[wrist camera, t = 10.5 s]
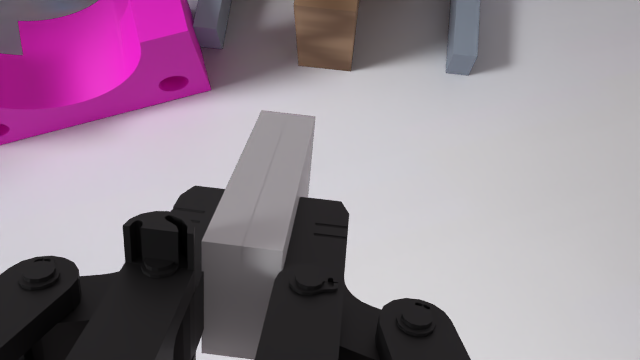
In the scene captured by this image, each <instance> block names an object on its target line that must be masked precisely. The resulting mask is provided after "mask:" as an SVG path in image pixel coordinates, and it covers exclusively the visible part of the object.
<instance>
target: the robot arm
mask: <svg viewBox="0 0 640 360" xmlns="http://www.w3.org/2000/svg"><path fill="white" fill-rule="evenodd" d="M314 126H315V116H307V115H298V114H289V113H280V112H272V111H263V110H262V111H261V113H260V115H259V117H258V119H257V122H256V124H255V126H254V128H253V130H252V132H251V135H250V137H249V139H248V141H247V143H246V146H245V148H244V150H243V152H242V154H241V156H240V159H239V161H238V163H237V165H236V167H235V169H234V172H233V174H232V176H231V178H230V180H229V182H228V185H227V187H226V189H218V188H210V187H201V186H194V187H192V188H191V189H189V190H188V191H186V192H185V193H183V194H181V195H180V197H179V198H178V200H177V202H176V203H175V205H174V207H173V210H171V212H169V211H154V212H148V213H143V214H140V215H138V216H135V217H133V218H131V219H129V220H128V221H127V222H126V223H125V224H124V225H123V236H124V249H125V264H124V265H123V267H122V269H121V270H120V271H119V272H115V273H110V274H103V275H92V276H80V277H79V269H78V268H77V266H76V265H75V263H74V262H72V261H70V260H68V259H66V258H63V257H56V256H42V257H35V258H31V259H28V260H24V261H21V262H19V263H18V264H16V265H14V266H12V267H10V268H9V269H7V270H6V271H5V272H3V273H2V274H0V360H196V349H197V346H198V344H199V341H200V338H201V336H202V353H207V354H215V355H222V356H230V357H238V358H246V359H254V360H471V359H470V357H469V355H468V353H467V351H466V349H465V347H464V345H463V343H462V341H461V339H460V337H459V335H458V333H457V331H456V329H455V327H454V325H453V323H452V321H451V320H450V318H449V317H448V316H447V315H446V313H445V312H444V311H442V310H441V309H439V308H438V307H436V306H435V305H433V304H431V303H428V302H425V301H422V300H420V299H409V298H404V299H398V300H393V301H391V302H390V303H388V304H386V305H384V307H383V308H382V310H381V309H378V308H375V307H372V306H370V305H368V304H366V303H363V302H361V301H360V300H359V299H357V298H356V297H354V296H353V295H352V294H351V293H350V292H349V290H348V289H347V287H346V285H345V282H344V270H345V258H346V245H347V233H348V221H349V213H348V211H347V210H346V208H345V207H344V205H343V204H342V202H340V201H332V200H323V199H315V198H308V192H309V181H310V170H311V159H312V148H313V137H314Z"/></svg>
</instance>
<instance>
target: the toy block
mask: <svg viewBox="0 0 640 360" xmlns="http://www.w3.org/2000/svg"><path fill="white" fill-rule="evenodd" d="M193 23H194V21H193V17H192V13H191V10H190V7H189V4H188V2H187V0H99V1H97V2H96V3H94V4H93V5H91V6H89V7H87V8H85V9H83V10H81V11H79V12H76V13H73V14H70V15H67V16H63V17H59V18H54V19H49V20H40V21H18V26H19V32H20V39H21V45H22V51H23V55H10V54H2V53H0V145H2V144H6V143H10V142H14V141H17V140H21V139H25V138H29V137H33V136H37V135H40V134H44V133H48V132H52V131H56V130H60V129H64V128H67V127H71V126H75V125H79V124H83V123H87V122H90V121H94V120H98V119H102V118H106V117H110V116H114V115H117V114H121V113H125V112H129V111H133V110H137V109H141V108H144V107H148V106H152V105H156V104H160V103H164V102H167V101H171V100H175V99H179V98H183V97H187V96H191V95H194V94H198V93H202V92H206V91H210V90H211V87H210V83H209V79H208V75H207V71H206V68H205V64H204V60H203V56H202V52H201V48H200V45H199V42H198V39H197V37H196V34H195V31H194V29H193Z"/></svg>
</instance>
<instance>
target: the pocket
mask: <svg viewBox="0 0 640 360" xmlns="http://www.w3.org/2000/svg"><path fill="white" fill-rule="evenodd" d="M231 1H232V0H198V4H197V9H196V13H195V18H194V23H193V29H194V31H195V34H196V37H197V39H198V42H199V45H200V47H208V48H218V49H222V47H223V42H224V37H225V32H226V27H227V21H228V16H229V11H230V6H231ZM479 15H480V0H451V1H450V15H449V30H448V45H447V60H446V73H452V74H461V75H469V73H470V71H471V69H472V67H473V65H474V63H475V61H476V58H477V55H478V35H479Z"/></svg>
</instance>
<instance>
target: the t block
mask: <svg viewBox="0 0 640 360" xmlns="http://www.w3.org/2000/svg"><path fill="white" fill-rule="evenodd" d="M358 7H359V0H294V15H295V27H296V40H297V53H298V66H306V67H316V68H325V69H334V70H343V71H351V65H352V57H353V49H354V40H355V32H356V24H357V16H358Z"/></svg>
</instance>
